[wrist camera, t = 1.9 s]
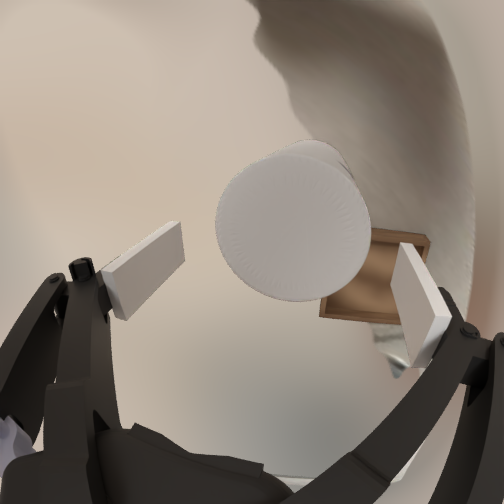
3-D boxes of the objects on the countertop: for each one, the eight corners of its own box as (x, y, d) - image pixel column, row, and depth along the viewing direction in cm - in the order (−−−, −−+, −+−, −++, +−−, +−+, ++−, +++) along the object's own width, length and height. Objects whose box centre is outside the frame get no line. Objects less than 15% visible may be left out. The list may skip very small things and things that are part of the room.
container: (355, 207, 34) (377, 294, 17) (283, 220, 38) (240, 309, 20) (339, 132, 31) (355, 139, 13) (264, 149, 34) (194, 178, 17)
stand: (330, 223, 36) (330, 230, 34) (425, 234, 33) (430, 242, 30) (320, 307, 42) (319, 317, 40) (402, 315, 39) (404, 324, 37)
